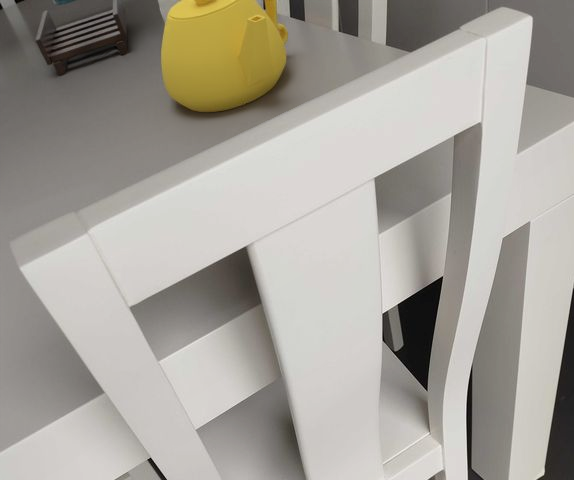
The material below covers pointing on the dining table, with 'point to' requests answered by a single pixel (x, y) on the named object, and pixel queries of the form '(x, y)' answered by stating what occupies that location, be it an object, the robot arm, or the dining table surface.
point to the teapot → (221, 52)
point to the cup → (62, 1)
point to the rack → (81, 36)
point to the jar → (166, 7)
